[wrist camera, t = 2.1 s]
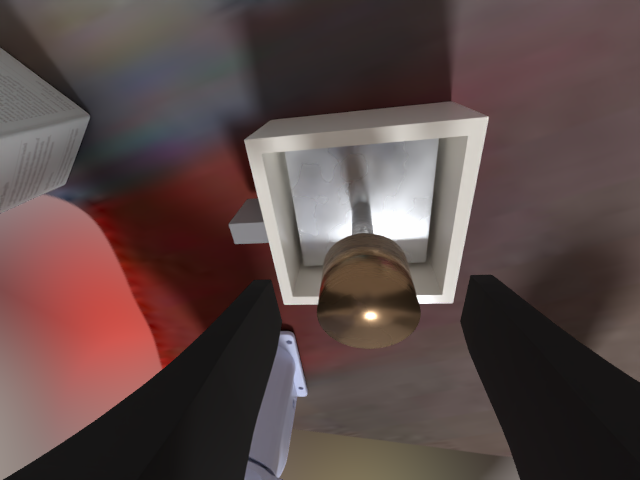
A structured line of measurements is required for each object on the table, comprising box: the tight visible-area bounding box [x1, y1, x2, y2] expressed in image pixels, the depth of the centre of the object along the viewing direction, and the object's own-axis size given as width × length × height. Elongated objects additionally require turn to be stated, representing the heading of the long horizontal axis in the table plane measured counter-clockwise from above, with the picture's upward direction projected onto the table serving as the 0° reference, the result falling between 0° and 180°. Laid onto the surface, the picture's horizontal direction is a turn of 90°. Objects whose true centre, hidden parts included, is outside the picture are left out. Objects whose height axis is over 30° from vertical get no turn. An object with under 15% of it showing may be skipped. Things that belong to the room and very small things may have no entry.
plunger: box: [285, 138, 439, 349], centre depth 12 cm, size 7×7×8 cm
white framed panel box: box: [229, 101, 489, 305], centre depth 15 cm, size 9×11×4 cm
